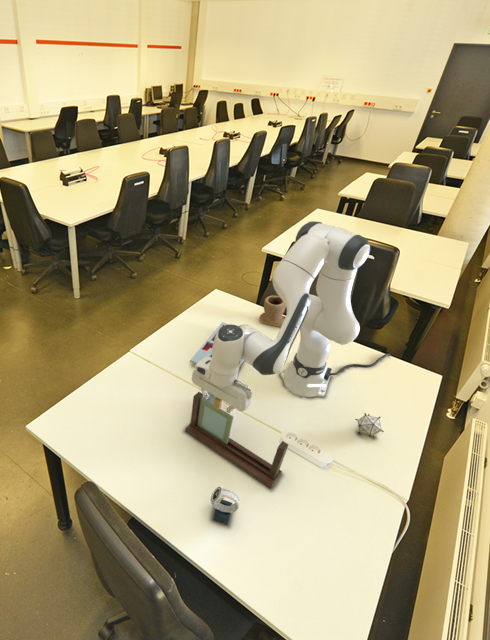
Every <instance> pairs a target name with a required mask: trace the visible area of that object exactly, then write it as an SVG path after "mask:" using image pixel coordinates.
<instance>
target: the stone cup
mask: <svg viewBox="0 0 490 640" xmlns="http://www.w3.org/2000/svg"><path fill="white" fill-rule="evenodd" d="M286 309H287V308H286V305H285V303H284V302H283V300H282V299H281V298H280V297H279V295H273V294H272V295H269V296H267V297H266V298H265V299H264V301H263V311H264V312H262V313H261V314H260V315H259V318H258V319H259V321H260V323H262V324H265V325H268V326H269V325H270V326H274V327H279V328H281V326H282V324H283V322H284V320H285V318H286V315H283V314H284V313H285V310H286Z"/></svg>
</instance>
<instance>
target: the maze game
mask: <svg viewBox="0 0 490 640" xmlns="http://www.w3.org/2000/svg"><path fill="white" fill-rule="evenodd" d="M225 325H230V323H226V322H223V321H222V322H221V323H220V324H219V326H217V328H216V329H215V330H214V331H213V332H212V334H210V336H209V337H208V338H207V339H206V341H205V342H204V343H203V344H202V346H201V347H200V348H199V349H198V350H197V351H196V352H195V354H194V355H193V356H192V357H191V358H190V360H189V362H190V363H192V364H195V365H196V364H197V363H198V362H199V361H200V360H202V359H203V358H205V357H212V347H213V342H214V339H215V336H216V334H217V332H218V330H219V329H220V328H221V327H222V326H225ZM244 362H245V360H243V359H242V360H240V362H239V369H240V368H241V366H242V364H243V363H244Z"/></svg>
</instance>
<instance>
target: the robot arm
mask: <svg viewBox="0 0 490 640" xmlns="http://www.w3.org/2000/svg"><path fill="white" fill-rule="evenodd" d="M294 241H295V242H294V244H293V245H292V246H291V247H290V248H289V249H288V250H287V252H286V253H285V254H284V256H283V257H282V259H281V260H280V261H279V263H277V266H276V268H275V269H274V271H273V273H272V277H271V282H272V286H273V289H274V291H275V293H276V294H277V296H279V297H280V298H281V299H282V300H283V302H284V303H285V305H286V308H285V309H286V315H285V317H286V318H285V320H284V322H283V324H282V326H281V327H279V328H280V329H279V330H278V333H277V335H276V337H275V338H274V339H271V338H270V337H268V336H266V335H265V334H263V333H262V332H261V331H259V330H258V329H256V328H255V327H254V326H251V325H249V324H240V325H236V324H231V323H229V325H225V326H222V327H221V328H220V329H219V330H218V332H217V334H216V336H215V339H214V342H213V347H212V357H205V358H203V359H202V360H200V361H199V362H198V363H197V364H195V365H194V369H193V370H192V374H191V382H192V383H193V385H195V386H197V387H198V388H200V391H201V393H202V394H203V398H204V399H206V400H207V399H208V398H209V395H210V394H209V393H211V394H212V395H214V396H216V397H218V398H219V399H221V400H222V402H225V404H228V407H226V410H225V412H226V413H228V414H230V415H231V414H232V413H233V412H234V409H236V410H237V411H240V412H245V411H246V410H247V409H248V408H249V407H250V405H251V400H252V399H251V398H252V396H253V391H252V389H251V388H250V386H248V385H247V384H244V383H243V382H241V381H240V380H238V377H239V372H240V368H239V362H240V360H242V359H243V360H244V362H246V363H248V364H249V365H250V366H251V367H252V368H253V369H255V370H256V371H257V372H258V373H259V374H260V375H262V376H271V375H272V376H273V375H276V374H279V373H280V375H279V376H280V377H281V379H282V380H283V384H284V386H285V387H286V389H287V390H288V391H289V392H290V393H292V394H294V395H296V396H300V397H303V398H313V397H318V398H319V397H320V398H323V397H325V395H326V391H327V390H328V389H327V388H328V385H329V382H330V380H331V379H330V378H331V376H338V375H339V374H340V373H341V372H343V371H344V370H346V369H347V368H350V367H360V368H371V367H374V366H376V365H377V364H378V363H379V362H381V360H383V359H384V358H386V357H392V355H391V353H385V354H383V355H382V356H380V357H379V358H377V359H376V360H375V361H374V362H373V363H371V364H361V363H360V364H359V363H350V364H346V365H345V366H342V368H340V369H339V370H337V371H336V372H332V369H333V368H331V367H329V366H328V365H327V360H329V356H330V352H331V347H332V346H331V342H333V343H335V344H339V345H341V346H345V345H348V344H351V343H352V342H354V340H356V339H357V338H358V336H359V333H360V330H361V326H360V322H359V321H358V320H357V318H356V316H355V314H354V311H353V308H352V307H353V305H352V302H351V301H352V300H351V299H352V298H351V295H352V290H353V287H354V286H353V285H354V282H355V278H356V275H357V272H358V269H359V268H360V267H361V266H363V264H365V262H366V261H367V259H368V257H369V255H370V252H371V245H370V242H369V239H367V238H365V237H364V236H363V235H361V234H356V233H354V232H352V231H350V230H347V229H345V228H343V227H339V226H335V225H331V224H326V223H323V222H321V221H315V220H314V221H313V220H311V221H308V222H306V223H305V224H303V225H302V226H301V227H300V228H299V230H298V231H297V233H296V235H295V240H294ZM316 278H317V279H316ZM315 279H316V280H317V281H316V285H315V292H316V295H314V294H311V293H310V290H311V289H310V288H311V287H312V284H313V282H314V281H315ZM299 333H300V334H299ZM298 334H299V335H300V336H299V338H300V339H299V344H298V348H297V350H296V351H297V352H295V354H294V356H293V360H290V362H288V364H287V367H286V369H285V370H284V371H282V369H283V368H284V367H285V365H286V363H287V360H288V357H289V354H290V351H291V348H292V347H293V344H294V342H295V340H296V338H297V336H298ZM330 341H331V342H330ZM386 355H388V356H386ZM281 371H282V372H281ZM208 392H209V393H208Z"/></svg>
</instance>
